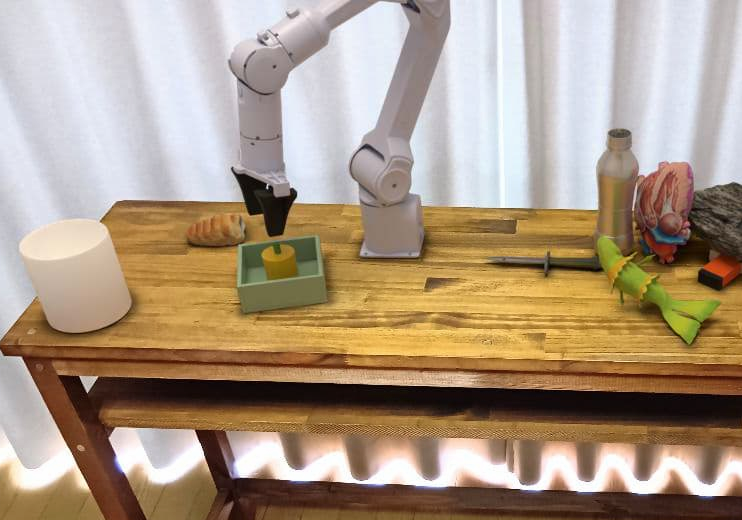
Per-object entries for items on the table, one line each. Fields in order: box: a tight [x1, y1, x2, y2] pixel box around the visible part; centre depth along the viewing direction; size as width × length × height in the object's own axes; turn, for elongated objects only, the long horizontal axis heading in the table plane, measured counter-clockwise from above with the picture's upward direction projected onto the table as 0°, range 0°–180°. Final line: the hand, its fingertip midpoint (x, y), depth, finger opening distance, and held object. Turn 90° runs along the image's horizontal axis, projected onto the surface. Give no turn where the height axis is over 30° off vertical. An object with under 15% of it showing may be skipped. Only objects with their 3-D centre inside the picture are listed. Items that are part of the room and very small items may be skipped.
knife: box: [482, 250, 602, 275], centre depth 139 cm, size 19×2×5 cm
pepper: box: [262, 242, 300, 281], centre depth 134 cm, size 5×5×7 cm
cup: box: [18, 218, 133, 334], centre depth 129 cm, size 12×12×12 cm
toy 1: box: [597, 236, 723, 346], centre depth 128 cm, size 8×20×8 cm, turn 49°
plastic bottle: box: [592, 127, 640, 258], centre depth 136 cm, size 6×7×20 cm
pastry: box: [184, 211, 246, 247], centre depth 147 cm, size 9×7×4 cm
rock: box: [687, 181, 742, 261], centre depth 136 cm, size 12×16×6 cm
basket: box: [236, 234, 329, 314], centre depth 136 cm, size 12×12×5 cm
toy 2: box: [697, 247, 742, 291], centre depth 137 cm, size 8×4×15 cm
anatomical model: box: [633, 160, 695, 265], centre depth 137 cm, size 11×6×15 cm
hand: (265, 224), depth 131 cm, fingers open, 7 cm apart
